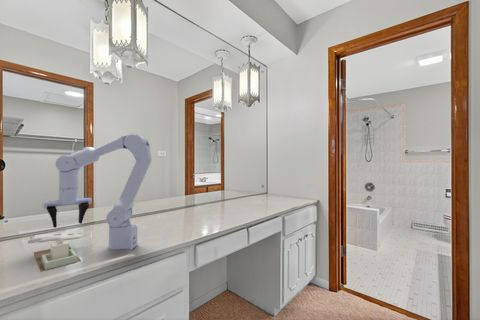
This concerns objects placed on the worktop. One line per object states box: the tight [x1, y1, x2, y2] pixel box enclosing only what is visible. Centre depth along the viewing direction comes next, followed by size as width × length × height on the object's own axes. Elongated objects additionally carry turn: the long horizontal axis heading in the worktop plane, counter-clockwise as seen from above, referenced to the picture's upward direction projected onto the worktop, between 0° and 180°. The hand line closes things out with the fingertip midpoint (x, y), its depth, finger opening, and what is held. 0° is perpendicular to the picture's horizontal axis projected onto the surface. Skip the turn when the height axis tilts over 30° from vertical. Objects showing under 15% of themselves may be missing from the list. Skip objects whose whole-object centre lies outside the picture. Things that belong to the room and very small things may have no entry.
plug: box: [50, 239, 70, 261], centre depth 74 cm, size 4×4×6 cm
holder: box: [41, 248, 79, 271], centre depth 73 cm, size 8×8×2 cm
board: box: [33, 245, 82, 273], centre depth 77 cm, size 20×10×1 cm, turn 47°
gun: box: [27, 231, 85, 244], centre depth 96 cm, size 18×4×10 cm
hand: (68, 224), depth 85 cm, fingers open, 7 cm apart
